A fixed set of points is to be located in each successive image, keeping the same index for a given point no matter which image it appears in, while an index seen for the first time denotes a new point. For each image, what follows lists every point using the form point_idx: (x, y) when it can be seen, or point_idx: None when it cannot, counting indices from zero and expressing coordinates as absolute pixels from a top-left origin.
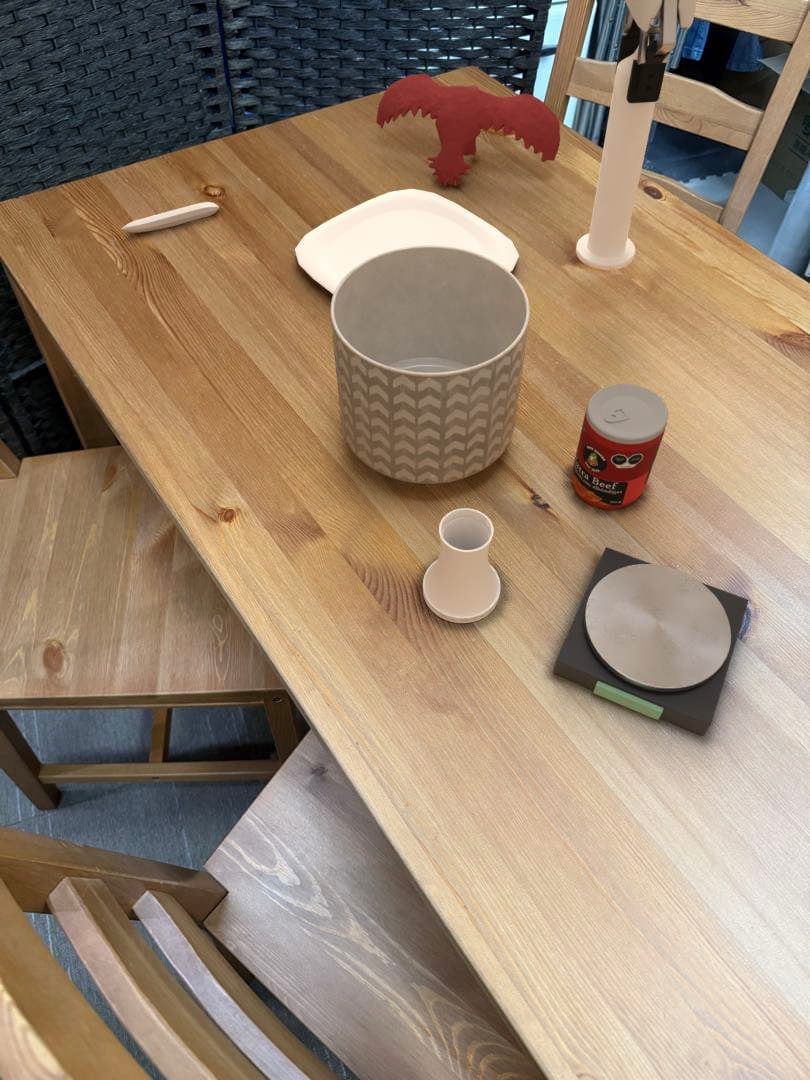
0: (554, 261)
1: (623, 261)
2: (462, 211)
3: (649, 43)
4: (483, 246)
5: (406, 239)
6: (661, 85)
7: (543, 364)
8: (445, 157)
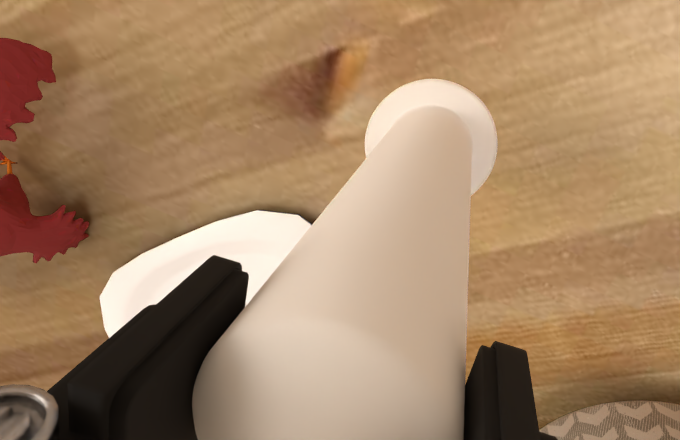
0: (309, 145)
1: (493, 135)
2: (167, 254)
3: (149, 390)
4: (254, 251)
5: None
6: (532, 403)
7: (559, 275)
8: (40, 246)
